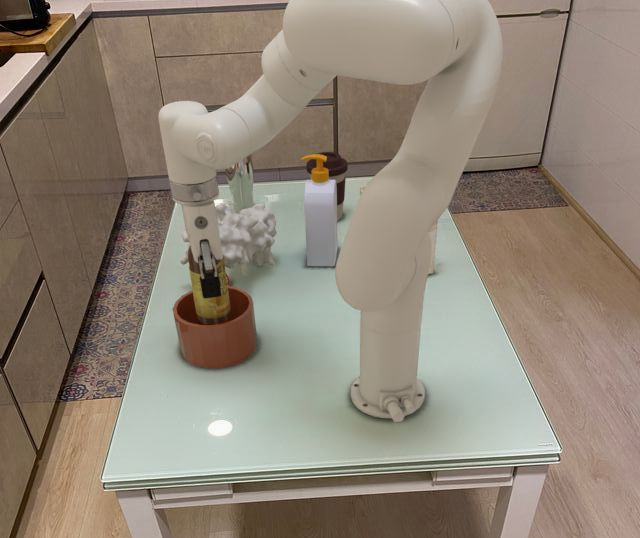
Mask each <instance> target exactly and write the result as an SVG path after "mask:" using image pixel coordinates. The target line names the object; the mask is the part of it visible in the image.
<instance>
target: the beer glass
mask: <svg viewBox="0 0 640 538" xmlns="http://www.w3.org/2000/svg"><path fill="white" fill-rule="evenodd" d="M224 171H225V177H226V181H227V184H228V188H229V190H230V195H231V201H232V205H231V206H232V207H233V208H234V210H235V212H236V213H237V214H239V213H240V211H241V210H242V209H247V208H252V207H253V206H254V205H255V204H256V203H255V201H254V177H255V175H254V174H255V172H254V171H255V170H254V162H253V157H252V154H250V155H249V156H247V157H245V158H244V159H242V160H241V161H239V162H238V163H236V164H234V165H233V166H231V167H229V168H227V169H224Z"/></svg>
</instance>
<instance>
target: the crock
mask: <svg viewBox="0 0 640 538" xmlns="http://www.w3.org/2000/svg"><path fill="white" fill-rule="evenodd" d="M228 293H229V301H230V318H229V319H228V321H226V322H225V323H222V324H216V325H204V324H202V323H200V321H199V320H198V315H197V313H196V308H195V302H194V296H193V290H190V291H188V292H186V293H185V294H183V295H181V296H180V297H179V298H178V299H177V300H176V301H175V302H174V304H173V307H172V313H173V318H174V323H175V329H176V334H177V339H178V344H179V349H180V352H181V355H182V357H183V359H184V360H185V361H186V362H188V363H189V364H191V365H192V366H195V367H198V368H202V369H208V370H209V369H210V370H211V369H213V370H216V369H226V368H231V367H233V366H236V365H239V364H241V363H244V362H245V361H247V360H248V359H249V358H250V357H252V356H253V354H254V353H255V352H256V350H257V347H258V335H257V325H256V317H255V307H254V301H253V298H252V295H250V294H249V292H247V291H246V290H244V289H242V288H239V287H236V286H231V285H228Z"/></svg>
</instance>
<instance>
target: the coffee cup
mask: <svg viewBox="0 0 640 538" xmlns="http://www.w3.org/2000/svg"><path fill="white" fill-rule="evenodd" d="M316 154H320V155H324V156H327V159H326V162H324V161H323V167H324V168H327V169H328V170H329V180H336V185H337V221H339V220H340V219H341V218H342V217H343V215H344V202H345V197H346V196H345V195H346V181H347V180H346V172H347V171H348V167H349V164H348V161H347V160H346V159H345V158H344V157H342V156H341V155H340V154H339V153H337V152H335V151H321V152H318V153H316ZM314 168H317V160H316V159H308V161H307V162H306V172H307V173H308V176H309V177H308V180H312V171H311V170H312V169H314Z"/></svg>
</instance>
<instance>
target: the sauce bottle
mask: <svg viewBox="0 0 640 538" xmlns="http://www.w3.org/2000/svg"><path fill="white" fill-rule="evenodd" d="M200 222H202V221H200ZM200 247H201V244H200ZM187 250H188V249H187ZM210 256H211V258H212V254H211V255H210ZM201 259H203V256H200V260H201ZM188 261H189V262H188V271H189V276H190V283H191V289H192V290H193V296H194V302H195V308H196V313H197V315H198V320H199V321H200V323H202V324H204V325H216V324H222V323H225V322H226V321H228V319H229V318H230V301H229V293H228V286H229V285H227V283H228V280H227V277H226V273H227V270H226V266H225V261H224V256H223V258H222V260H220V259H218V260H216V258H215V263H216V269H217V274H218V275H219V281H220V288H221V296H219V297H212V298H206V299H205V298H203V295H202V289H201V282H200V277H201V273H200V267H199V263H197V262H195V260H194V257H193V254H192V251H191V247H190V246H189V250H188ZM202 266H203V268H205V266H204V263H202ZM212 267H213V265H212ZM192 290H191V291H192Z"/></svg>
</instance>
